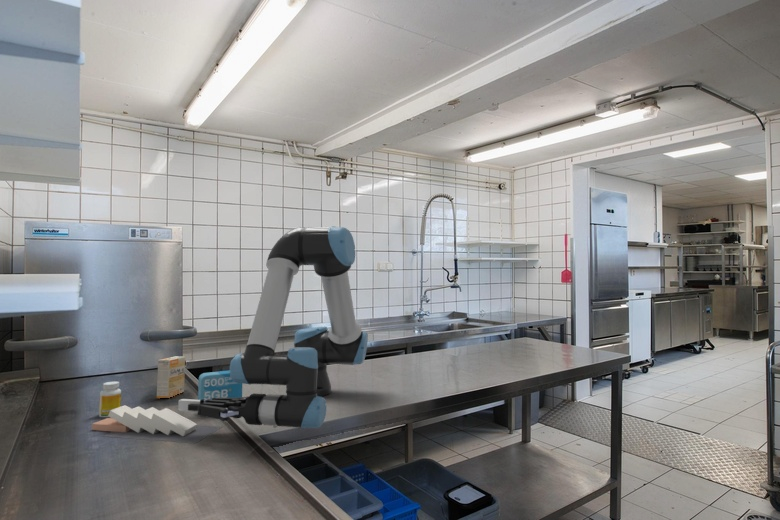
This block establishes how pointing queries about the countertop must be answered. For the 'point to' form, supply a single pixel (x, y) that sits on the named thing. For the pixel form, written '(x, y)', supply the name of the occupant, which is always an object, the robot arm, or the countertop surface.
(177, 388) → the supplement box
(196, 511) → the countertop surface
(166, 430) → the domino
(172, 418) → the domino
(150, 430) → the domino
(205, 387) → the data package
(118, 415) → the domino
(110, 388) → the supplement bottle
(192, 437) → the mat
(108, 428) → the domino
